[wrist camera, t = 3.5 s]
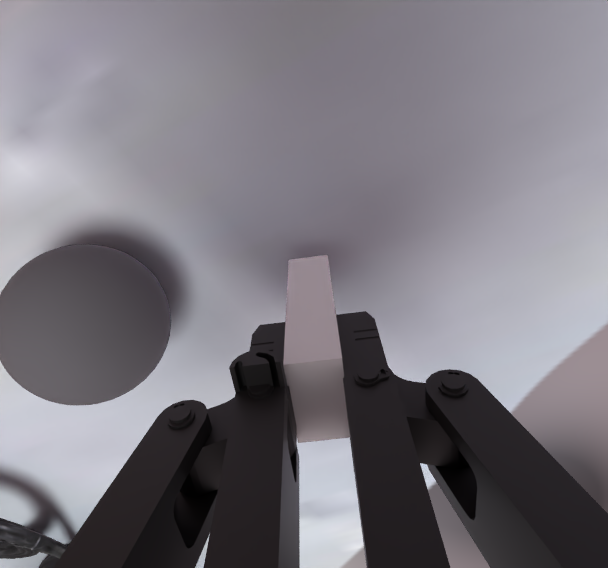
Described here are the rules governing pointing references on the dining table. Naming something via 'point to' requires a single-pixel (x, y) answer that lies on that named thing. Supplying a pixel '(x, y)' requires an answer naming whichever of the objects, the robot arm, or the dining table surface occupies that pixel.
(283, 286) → the dining table surface
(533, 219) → the dining table surface
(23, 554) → the milk frother
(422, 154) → the dining table surface
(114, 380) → the dark gray ball
